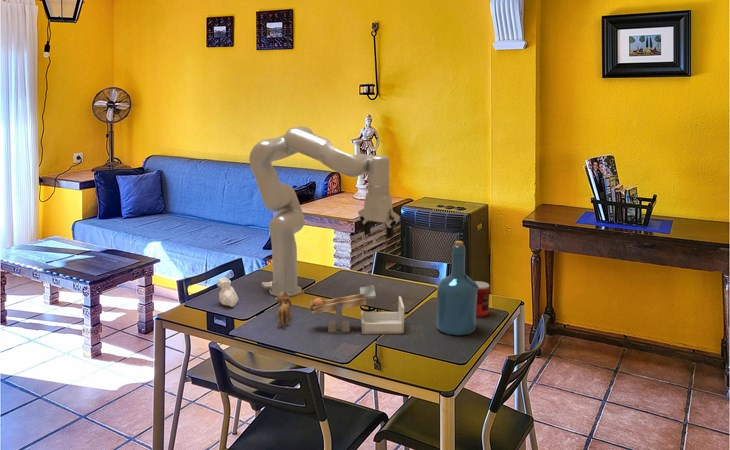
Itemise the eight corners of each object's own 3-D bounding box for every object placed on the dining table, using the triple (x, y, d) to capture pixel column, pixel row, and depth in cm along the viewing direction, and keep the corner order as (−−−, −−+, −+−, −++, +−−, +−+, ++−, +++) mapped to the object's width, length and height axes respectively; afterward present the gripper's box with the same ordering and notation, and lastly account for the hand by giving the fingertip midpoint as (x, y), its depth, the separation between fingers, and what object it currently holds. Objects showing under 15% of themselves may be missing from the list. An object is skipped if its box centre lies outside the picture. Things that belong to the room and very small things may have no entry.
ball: (314, 310, 196) (311, 301, 195) (314, 306, 199) (312, 297, 198) (323, 307, 196) (321, 298, 195) (324, 304, 199) (321, 295, 198)
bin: (362, 334, 194) (362, 307, 192) (360, 321, 205) (360, 296, 203) (403, 333, 195) (404, 307, 193) (400, 321, 205) (400, 296, 203)
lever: (311, 314, 195) (310, 305, 194) (313, 298, 211) (312, 290, 210) (376, 302, 195) (375, 294, 194) (374, 287, 211) (372, 279, 210)
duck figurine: (229, 304, 228) (209, 282, 225) (244, 291, 228) (225, 270, 225) (227, 315, 216) (206, 292, 213) (243, 302, 216) (223, 279, 213)
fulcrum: (328, 333, 194) (327, 306, 192) (328, 323, 203) (328, 296, 201) (349, 333, 195) (349, 305, 193) (349, 322, 204) (349, 296, 202)
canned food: (463, 310, 216) (464, 281, 214) (484, 309, 217) (486, 280, 215) (468, 318, 209) (469, 287, 206) (490, 317, 209) (492, 287, 207)
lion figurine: (275, 315, 211) (274, 290, 209) (290, 314, 212) (289, 289, 210) (277, 330, 197) (276, 304, 195) (293, 329, 198) (293, 303, 196)
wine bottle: (439, 337, 192) (442, 246, 186) (432, 322, 205) (435, 236, 199) (481, 336, 193) (485, 246, 186) (472, 321, 206) (476, 236, 199)
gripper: (353, 189, 217) (353, 234, 221) (393, 193, 208) (393, 241, 212) (364, 186, 224) (364, 231, 227) (404, 190, 214) (403, 237, 218)
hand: (378, 236), depth 219 cm, fingers open, 9 cm apart
